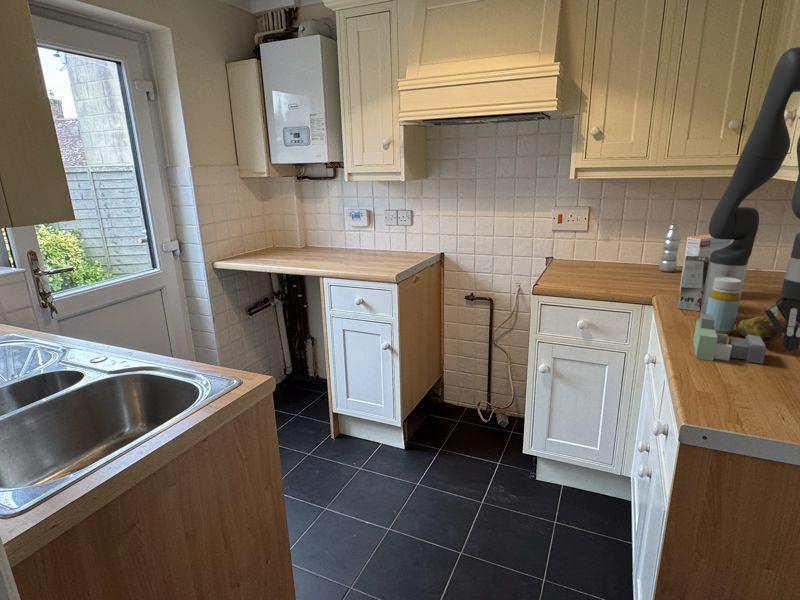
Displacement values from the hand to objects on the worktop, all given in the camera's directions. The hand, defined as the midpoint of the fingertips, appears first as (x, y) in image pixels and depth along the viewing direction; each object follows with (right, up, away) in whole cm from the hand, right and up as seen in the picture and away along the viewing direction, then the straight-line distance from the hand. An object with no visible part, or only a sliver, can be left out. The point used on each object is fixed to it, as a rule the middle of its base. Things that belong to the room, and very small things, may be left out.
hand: (789, 350), depth 111 cm
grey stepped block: (-7, -2, +5) cm, 9 cm away
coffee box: (+3, +9, +44) cm, 45 cm away
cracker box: (+16, +14, +58) cm, 62 cm away
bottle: (-2, +3, +22) cm, 22 cm away
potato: (+2, 0, +13) cm, 14 cm away
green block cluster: (-13, -1, +8) cm, 15 cm away
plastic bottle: (+23, +24, +92) cm, 97 cm away
